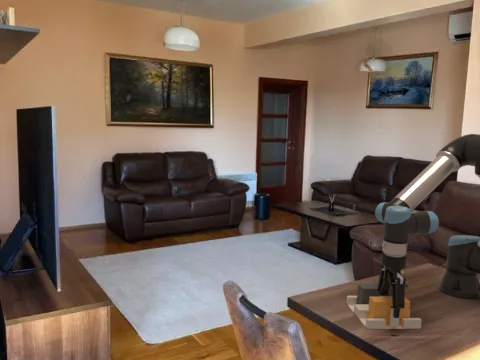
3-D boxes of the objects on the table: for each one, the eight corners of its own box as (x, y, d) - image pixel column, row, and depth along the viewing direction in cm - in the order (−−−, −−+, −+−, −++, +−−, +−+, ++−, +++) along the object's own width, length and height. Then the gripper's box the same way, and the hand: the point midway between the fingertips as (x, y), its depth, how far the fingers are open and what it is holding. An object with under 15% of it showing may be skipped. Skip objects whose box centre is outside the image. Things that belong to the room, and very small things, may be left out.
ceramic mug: (396, 291, 176) (398, 272, 175) (380, 284, 183) (381, 266, 182) (413, 287, 182) (414, 269, 181) (396, 280, 189) (398, 263, 188)
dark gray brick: (388, 304, 160) (390, 283, 159) (393, 310, 155) (395, 288, 154) (356, 305, 158) (358, 283, 157) (361, 310, 154) (362, 288, 153)
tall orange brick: (401, 318, 148) (403, 296, 147) (408, 325, 144) (410, 301, 143) (367, 319, 147) (369, 296, 146) (373, 325, 143) (374, 302, 142)
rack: (393, 305, 162) (394, 295, 161) (420, 331, 142) (421, 320, 142) (346, 305, 160) (346, 295, 160) (367, 331, 140) (368, 320, 140)
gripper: (370, 244, 152) (365, 307, 155) (397, 264, 132) (391, 335, 135) (391, 244, 153) (385, 306, 156) (421, 264, 133) (414, 335, 136)
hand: (388, 320), depth 146 cm, fingers open, 8 cm apart
